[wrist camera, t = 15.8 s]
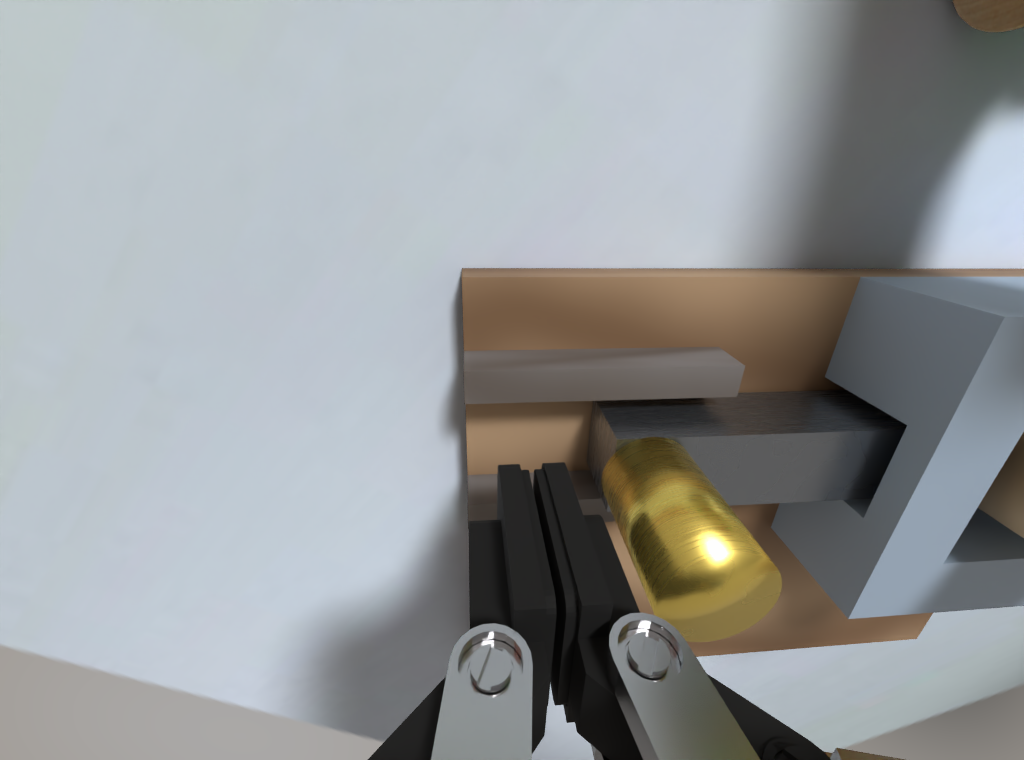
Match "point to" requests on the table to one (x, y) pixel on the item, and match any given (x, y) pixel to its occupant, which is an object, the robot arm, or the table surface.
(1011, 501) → the peg
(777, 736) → the robot arm
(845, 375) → the socket block
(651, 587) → the pin
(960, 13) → the toy lion
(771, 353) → the dock board
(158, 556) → the table surface
